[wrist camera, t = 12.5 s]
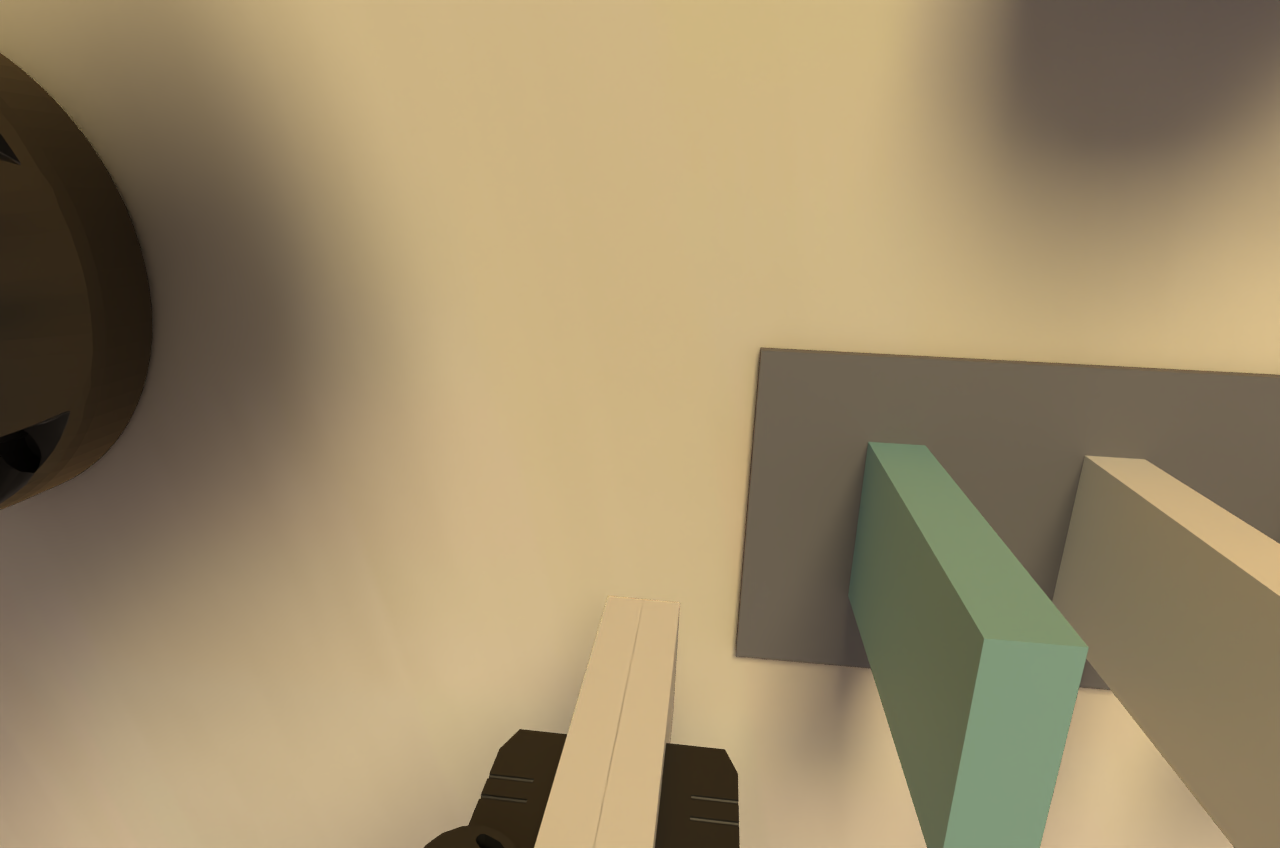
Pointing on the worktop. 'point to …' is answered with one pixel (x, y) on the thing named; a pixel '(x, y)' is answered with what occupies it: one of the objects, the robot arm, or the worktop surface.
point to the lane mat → (971, 466)
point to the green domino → (960, 655)
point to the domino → (1183, 633)
